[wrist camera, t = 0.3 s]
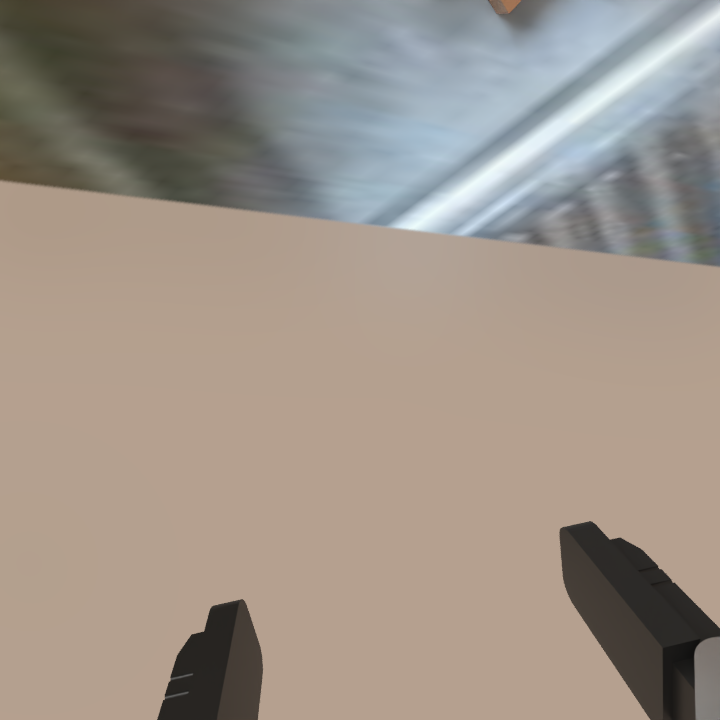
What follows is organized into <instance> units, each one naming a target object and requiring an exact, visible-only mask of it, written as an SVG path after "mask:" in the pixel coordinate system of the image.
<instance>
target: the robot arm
mask: <svg viewBox="0 0 720 720" xmlns="http://www.w3.org/2000/svg"><path fill="white" fill-rule="evenodd" d="M560 546H561V558H562V571H563V580H564V584H565V587H566V590H567V593H568V595H569V597H570V599H571V601H572V603H573V605H574V606H575V608H576V609H577V611H578V612H579V614H580V615H581V617H582V618H583V620H584V621H585V623H586V624H587V626H588V627H589V629H590V630H591V632H592V633H593V635H594V636H595V638H596V639H597V641H598V642H599V644H600V645H601V647H602V648H603V650H604V651H605V652H606V654H607V656H608V657H609V659H610V660H611V661H612V663H613V664H614V666H615V667H616V669H617V670H618V672H619V673H620V675H621V676H622V678H623V679H624V681H625V682H626V684H627V685H628V687H629V688H630V690H631V691H632V693H633V694H634V696H635V697H636V699H637V700H638V702H639V703H640V705H641V706H642V708H643V709H644V711H645V712H646V714H647V715H648V717H649V718H650V719H651V720H720V628H719V627H718V626H717V625H716V624H715V623H714V622H713V621H712V620H711V619H710V618H709V617H708V616H707V615H706V614H705V613H704V612H703V611H702V610H701V609H700V608H699V607H698V606H697V605H696V604H695V603H694V602H693V601H692V600H691V599H690V598H689V597H688V596H687V595H686V594H685V593H684V592H683V591H682V590H681V589H680V588H679V587H678V586H677V585H676V584H675V583H672V581H671V579H670V578H669V577H668V576H667V575H666V574H665V573H664V571H663V570H661V569H659V568H658V565H657V564H656V563H655V562H654V561H652V559H651V558H650V557H649V556H647V554H646V553H645V552H644V551H643V550H641V549H640V548H638V547H636V546H634V545H632V544H631V543H629V542H627V541H625V540H623V539H622V538H617V539H612V540H609V539H608V537H607V536H606V535H605V534H604V533H603V532H602V531H601V530H600V529H599V528H598V527H597V525H596V524H594V523H593V522H591V521H589V522H585V523H581V524H576V525H571V526H567V527H563V528H561V529H560ZM262 674H263V664H262V654H261V649H260V645H259V642H258V639H257V636H256V633H255V629H254V626H253V624H252V621H251V617H250V614H249V611H248V608H247V605H246V603H245V601H244V600H243V599H241V600H237V601H233V602H228V603H224V604H219V605H215V606H212V608H211V609H210V612H209V615H208V619H207V623H206V627H205V631H204V632H201V633H196V634H192V635H191V636H190V638H189V639H188V641H187V642H186V643H185V645H184V646H183V648H182V649H181V651H180V652H179V654H178V655H177V658H176V661H175V664H174V668H173V671H172V674H171V681H170V682H169V683H168V687H167V690H166V694H165V700H163V703H162V706H161V709H160V713H159V716H158V719H157V720H258V711H259V702H260V693H261V684H262Z"/></svg>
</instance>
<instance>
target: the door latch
mask: <svg viewBox="0 0 720 720" xmlns="http://www.w3.org/2000/svg"><path fill="white" fill-rule="evenodd" d="M488 1H489V2H490V4H491V5H492V7H493V8H494V10H495V12H496V13H497V14H509V13H510V12H511V11H512V10H513V9H514V8H515V7H516V6H517V5H518V4H519V2H520V1H521V0H488Z"/></svg>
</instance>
